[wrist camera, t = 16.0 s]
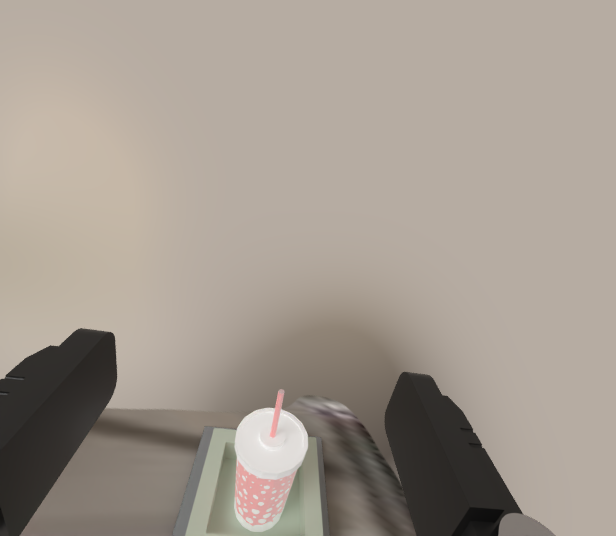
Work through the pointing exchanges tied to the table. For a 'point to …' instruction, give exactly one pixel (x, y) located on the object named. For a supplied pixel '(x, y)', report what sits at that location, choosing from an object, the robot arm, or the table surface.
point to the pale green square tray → (221, 493)
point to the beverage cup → (266, 464)
